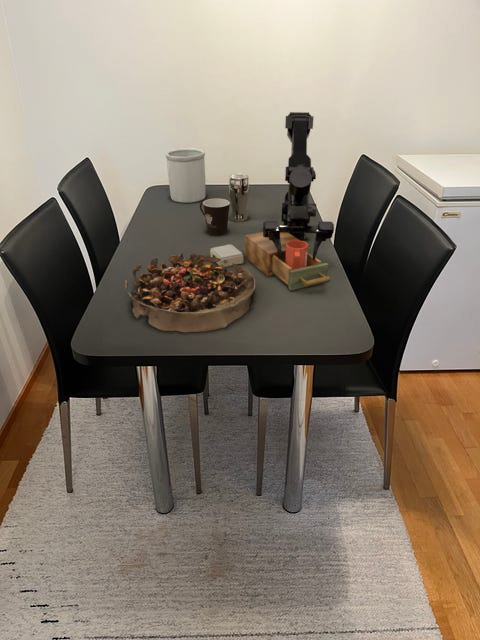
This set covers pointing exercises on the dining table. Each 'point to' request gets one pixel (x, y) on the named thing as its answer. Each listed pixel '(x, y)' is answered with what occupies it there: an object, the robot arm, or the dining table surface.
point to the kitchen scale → (227, 255)
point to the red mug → (296, 254)
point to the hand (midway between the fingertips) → (297, 259)
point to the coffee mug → (216, 215)
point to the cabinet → (264, 250)
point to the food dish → (191, 294)
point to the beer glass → (238, 196)
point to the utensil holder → (186, 174)
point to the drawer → (300, 272)
